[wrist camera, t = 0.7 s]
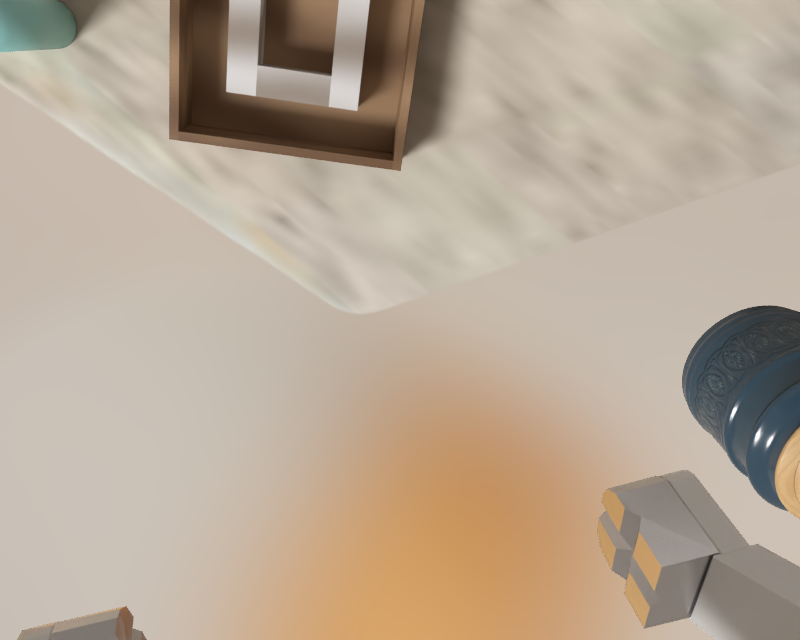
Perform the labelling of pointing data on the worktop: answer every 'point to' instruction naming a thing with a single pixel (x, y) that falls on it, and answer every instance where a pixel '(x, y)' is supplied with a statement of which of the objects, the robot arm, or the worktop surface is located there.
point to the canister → (752, 397)
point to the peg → (35, 25)
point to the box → (295, 76)
